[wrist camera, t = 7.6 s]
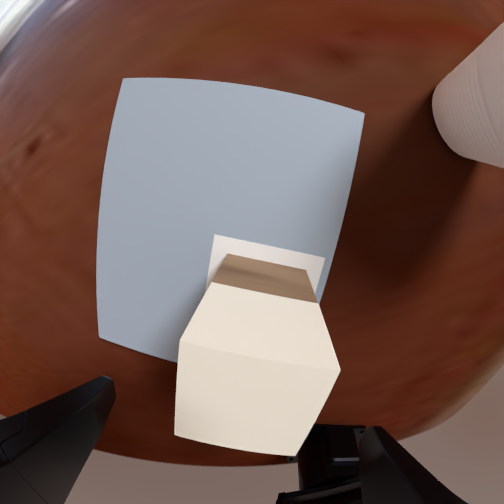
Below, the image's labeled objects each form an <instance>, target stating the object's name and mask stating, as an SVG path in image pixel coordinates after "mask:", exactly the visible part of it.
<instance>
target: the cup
mask: <svg viewBox="0 0 504 504" xmlns="http://www.w3.org/2000/svg"><path fill="white" fill-rule="evenodd" d="M432 110H433V116H434V120H435V124H436V126H437V128H438V131H439V133H440V134H441V136H442V138H443V140H444V141H445V142H446V144H447V145H448V146H449V147H450V148H451V149H452V150H453V151H454V152H456V153H457V154H458V155H460V156H462V157H465V158H468V159H472V160H476V161H480V162H484V163H488V164H491V165H494V166H498V167H502V168H504V22H503V23H502V24H501V25H500V26H499V27H498V28H497V29H496V30H495V31H494V32H493V33H492V34H490V35H489V36H488V37H487V38H486V39H485V40H484V41H483V43H482V44H480V45H479V47H477V48H476V49H475V50H474V51H473V52H472V53H471V54H470V55H469V56H468V57H467V58H466V59H465V60H464V61H462V63H460V64H459V65H458V66H457V67H456V68H455V69H454V70H453V71H452V72H451V73H449V74H448V75H447V76H446V77H445V78H444V79H443V80H442V81H441V82H440V83H439V84H438V85H437V87H436V88H435V91H434V93H433V98H432Z"/></svg>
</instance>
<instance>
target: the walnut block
mask: <svg viewBox="0 0 504 504" xmlns="http://www.w3.org/2000/svg"><path fill="white" fill-rule="evenodd" d="M212 282H214V283H218V284H223V285H228V286H232V287H237V288H242V289H247V290H251V291H256V292H261V293H266V294H271V295H276V296H281V297H286V298H291V299H297V300H302V301H307V302H313V303H318V302H317V299H316V296H315V293H314V291H313V288H312V285H311V282H310V279H309V277H308V274H307V271H306V270H304V269H299V268H295V267H290V266H285V265H280V264H276V263H271V262H266V261H261V260H257V259H252V258H247V257H242V256H238V255H233V254H228V253H227V255H226V257H225V259H224V260H223V262H222V264H221V266H220V267H219V269H218V271H217V273H216V275H215V276H214V278H213V280H212Z"/></svg>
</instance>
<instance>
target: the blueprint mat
mask: <svg viewBox="0 0 504 504" xmlns="http://www.w3.org/2000/svg"><path fill="white" fill-rule="evenodd" d="M364 115H365V113H362V112H359V111H356V110H353V109H350V108H346V107H343V106H339V105H336V104H332V103H329V102H325V101H321V100H317V99H313V98H309V97H305V96H301V95H296V94H292V93H287V92H282V91H277V90H272V89H266V88H261V87H255V86H248V85H241V84H234V83H226V82H216V81H206V80H193V79H175V78H123V82H122V85H121V89H120V93H119V97H118V101H117V105H116V109H115V113H114V117H113V122H112V127H111V132H110V137H109V142H108V148H107V153H106V159H105V166H104V173H103V180H102V188H101V197H100V208H99V220H98V235H97V268H96V281H97V313H98V329H99V337H100V338H102V339H105V340H108V341H110V342H113V343H116V344H119V345H122V346H124V347H127V348H130V349H133V350H136V351H139V352H142V353H146V354H149V355H152V356H155V357H159V358H162V359H165V360H169V361H172V362H176V363H178V354H179V342H180V339H181V337H182V335H183V333H184V331H185V329H186V328H187V326H188V324H189V322H190V320H191V318H192V317H193V315H194V313H195V311H196V309H197V307H198V306H199V304H200V302H201V300H202V298H203V296H204V295H205V293H206V291H207V289H208V287H209V286H210V284H211V282H212V280H213V278H214V276H215V275H216V273H217V271H218V269H219V267H220V266H221V264H222V262H223V260H224V259H225V257H226V255H227V253H228V254H233V255H238V256H242V257H247V258H252V259H257V260H261V261H266V262H271V263H276V264H280V265H285V266H290V267H295V268H299V269H304V270H306V271H307V274H308V277H309V279H310V282H311V285H312V288H313V291H314V293H315V296H316V299H317V302H318V304H319V303H320V300H321V297H322V294H323V290H324V287H325V284H326V281H327V277H328V274H329V270H330V267H331V263H332V260H333V256H334V252H335V249H336V245H337V241H338V238H339V234H340V230H341V226H342V222H343V218H344V214H345V210H346V205H347V201H348V197H349V192H350V188H351V183H352V179H353V174H354V169H355V164H356V159H357V154H358V149H359V144H360V138H361V132H362V127H363V121H364Z"/></svg>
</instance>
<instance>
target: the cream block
mask: <svg viewBox="0 0 504 504" xmlns="http://www.w3.org/2000/svg"><path fill="white" fill-rule="evenodd" d="M339 372H340V367H339V363H338V360H337V357H336V354H335V351H334V348H333V345H332V342H331V339H330V336H329V333H328V330H327V327H326V324H325V321H324V318H323V315H322V313H321V310H320V307H319V304H318V303H313V302H307V301H302V300H297V299H291V298H286V297H281V296H276V295H271V294H266V293H261V292H256V291H251V290H247V289H242V288H237V287H232V286H228V285H223V284H218V283H214V282H211V284H210V286H209V287H208V289H207V291H206V293H205V295H204V296H203V298H202V300H201V302H200V304H199V306H198V307H197V309H196V311H195V313H194V315H193V317H192V318H191V320H190V322H189V324H188V326H187V328H186V329H185V331H184V333H183V335H182V337H181V339H180V342H179V354H178V368H177V383H176V402H175V429H174V435H176V436H180V437H183V438H187V439H191V440H195V441H199V442H204V443H208V444H213V445H218V446H223V447H228V448H233V449H239V450H245V451H252V452H259V453H267V454H276V455H287V456H296V454H297V452H298V451H299V449H300V447H301V446H302V444H303V442H304V440H305V439H306V437H307V435H308V433H309V432H310V430H311V428H312V426H313V424H314V423H315V421H316V419H317V417H318V415H319V413H320V411H321V409H322V407H323V406H324V404H325V402H326V400H327V398H328V396H329V394H330V392H331V389H332V387H333V385H334V383H335V381H336V379H337V377H338V375H339Z"/></svg>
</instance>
